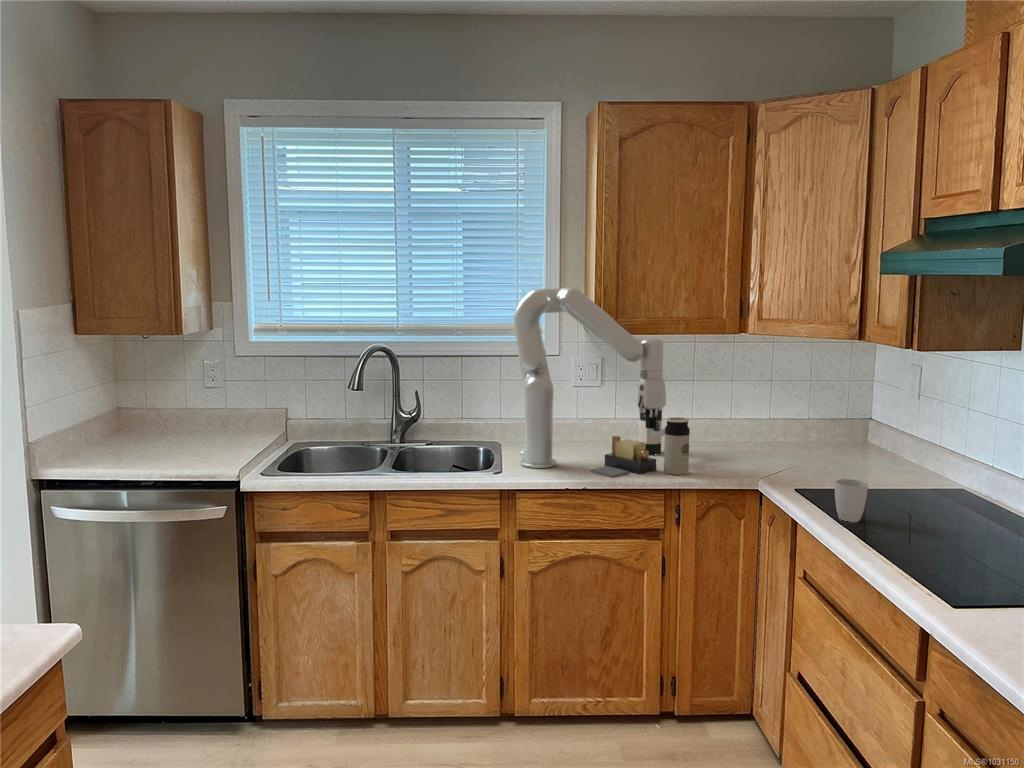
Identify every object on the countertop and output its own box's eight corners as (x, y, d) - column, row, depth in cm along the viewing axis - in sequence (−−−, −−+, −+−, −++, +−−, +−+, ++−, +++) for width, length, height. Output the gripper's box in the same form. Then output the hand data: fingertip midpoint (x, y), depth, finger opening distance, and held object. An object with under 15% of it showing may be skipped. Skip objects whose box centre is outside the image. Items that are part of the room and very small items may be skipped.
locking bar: (650, 436, 278) (650, 422, 278) (680, 430, 288) (680, 417, 288) (655, 437, 276) (656, 423, 276) (685, 431, 286) (685, 418, 286)
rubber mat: (590, 471, 266) (590, 469, 266) (606, 468, 271) (606, 466, 271) (612, 477, 259) (612, 475, 259) (628, 473, 264) (628, 471, 264)
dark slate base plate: (604, 465, 275) (605, 437, 274) (620, 462, 280) (621, 434, 279) (639, 474, 263) (640, 444, 261) (656, 470, 268) (656, 441, 266)
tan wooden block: (615, 456, 272) (615, 441, 271) (627, 453, 276) (627, 439, 275) (633, 460, 266) (633, 445, 265) (645, 457, 270) (645, 442, 269)
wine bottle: (635, 454, 294) (636, 372, 290) (642, 449, 301) (644, 370, 297) (657, 456, 290) (659, 373, 286) (664, 452, 297) (666, 371, 293)
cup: (857, 515, 217) (859, 478, 216) (871, 524, 209) (873, 486, 208) (827, 515, 217) (829, 479, 215) (840, 524, 209) (842, 486, 207)
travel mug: (659, 471, 267) (660, 418, 265) (678, 469, 270) (679, 416, 268) (673, 476, 260) (674, 421, 257) (693, 474, 263) (694, 420, 261)
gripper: (645, 377, 266) (644, 432, 268) (674, 374, 275) (673, 427, 278) (628, 375, 272) (627, 429, 274) (657, 372, 281) (656, 424, 283)
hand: (650, 427), depth 276 cm, fingers closed
